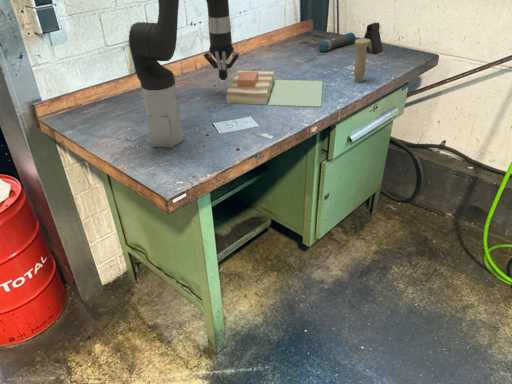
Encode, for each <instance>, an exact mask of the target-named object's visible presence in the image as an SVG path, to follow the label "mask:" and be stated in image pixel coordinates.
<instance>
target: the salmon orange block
mask: <svg viewBox="0 0 512 384" xmlns="http://www.w3.org/2000/svg"><path fill="white" fill-rule="evenodd" d="M241 71H242V72H241V74H240V76H239V78H238V80H237V84H238V87H255V85H256V82H257V80H258V72H244V71H245V70H241Z"/></svg>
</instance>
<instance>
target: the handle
mask: <svg viewBox="0 0 512 384" xmlns="http://www.w3.org/2000/svg"><path fill="white" fill-rule="evenodd" d="M370 45H371V43H370V39H366V38H364V37H363V38H358V39H355V41H354V46H355V47H357V49H356V54H355V55H356V56H355V61H354V71H353V72H354V74H353V77H354V82H356V83H363V81H364V77H365V74H366V73H365V72H366V62H367V53H366V50H367V47H368V46H369V47H370Z"/></svg>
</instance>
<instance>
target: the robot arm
mask: <svg viewBox="0 0 512 384" xmlns="http://www.w3.org/2000/svg"><path fill="white" fill-rule="evenodd" d="M157 1H158V16H157V21H156V22H145V21H142V22H139V21H137V22H136V23H133V24H132V26H131V27H130V29H129V33H128V44H129V50H130V55H131V57H132V62H133V65H134V71H135V74H136V78H137V79H138V81H139V82H140V88H141V91H142V92H141V93H142V99H143V103H144V109H145V114H146V120H147V124H148V125H147V126H148V131H149V135H150V141H151V146H152V148H170V149H171V148H174V147H175V146H177V145H179V144H180V143H181V142H182V141H183V140H184V136H183V130H182V129H183V128H182V124H181V116H180V108H179V100H178V95H177V94H178V93H177V87H176V86H177V85H176V80H175V74H174V73H173V71H172V70H170V69H168V68H167V67H165V66H163V65H162V64H161V63H160V62H168V61H170V60H171V59H172V58H173V57H174V55H175V52H176V46H177V40H178V39H177V37H178V23H179V21H178V18H179V7H180V5H179V4H180V0H157ZM205 2H206V4H207V15H208V16H207V17H208V19H207V21H208V23H207V24H208V25H207V26H208V35H209V36H208V37H209V49H208V51H206V52H205V53H204V55H203V57H204V58H205V60H206V61H207V62H208V63H209V64H210V65H211V67H212V68H213V69H217V70H218V78H219V79H220V81H226V80H227V79H228V70H229V69H231V68H232V67H233V65H234V64H235V62H236V61H237V60H238V58H239V56H240V55H241V54H240V53H239V52H237V51H236V50H235V48H234V47H233V41H232V23H231V19H230V17H231V16H230V6H229V0H205ZM230 57H232V59H231V60H230V62H229V63H228V61H229V58H230Z"/></svg>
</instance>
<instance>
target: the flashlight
mask: <svg viewBox="0 0 512 384" xmlns="http://www.w3.org/2000/svg"><path fill="white" fill-rule="evenodd" d="M355 40H356V35H355V33H354V32H347V33H345V34H343V35H340V36H338V37H334V38H331V39H323V40H320V42H319V43H318V45H317V47H318V50H319V51H320V52H321V53H324V52H325V53H326V52H329V51H330V50H331V49H334V48H337V47H341V46H345V45H346V46H347V45H350V44H351V45H352V44H353V43H355Z"/></svg>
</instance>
